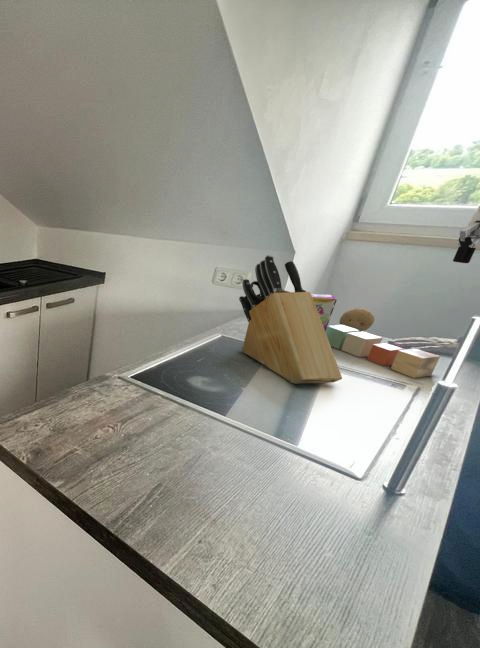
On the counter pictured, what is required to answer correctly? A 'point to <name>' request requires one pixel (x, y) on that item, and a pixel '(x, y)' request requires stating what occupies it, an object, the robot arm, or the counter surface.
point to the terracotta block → (383, 353)
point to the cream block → (360, 343)
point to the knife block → (286, 328)
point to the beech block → (415, 363)
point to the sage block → (338, 334)
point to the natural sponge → (357, 319)
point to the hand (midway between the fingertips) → (475, 261)
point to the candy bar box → (324, 307)
